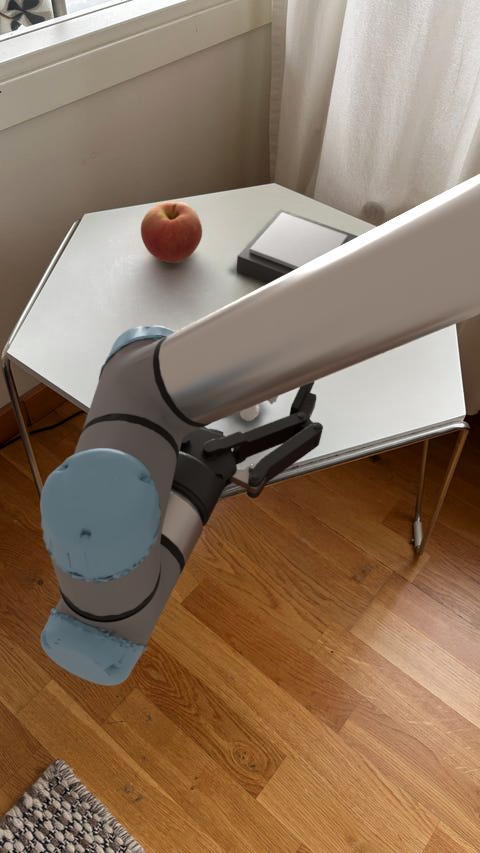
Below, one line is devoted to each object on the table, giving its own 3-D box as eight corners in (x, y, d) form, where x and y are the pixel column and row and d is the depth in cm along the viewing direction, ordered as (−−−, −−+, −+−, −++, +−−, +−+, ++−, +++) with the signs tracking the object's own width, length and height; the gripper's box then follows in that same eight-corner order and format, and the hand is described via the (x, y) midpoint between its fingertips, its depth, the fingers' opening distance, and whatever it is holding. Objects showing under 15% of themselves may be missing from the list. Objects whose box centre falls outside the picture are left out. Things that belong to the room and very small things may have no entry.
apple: (214, 258, 96) (216, 207, 90) (167, 280, 93) (166, 229, 87) (178, 230, 100) (177, 179, 94) (131, 250, 96) (128, 198, 90)
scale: (367, 255, 99) (372, 236, 97) (331, 307, 92) (335, 288, 89) (277, 223, 103) (280, 204, 100) (236, 271, 95) (237, 252, 93)
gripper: (48, 485, 67) (147, 344, 80) (295, 579, 63) (357, 414, 76) (35, 435, 62) (144, 293, 75) (306, 535, 57) (372, 364, 70)
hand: (252, 353), depth 75 cm, fingers open, 13 cm apart
